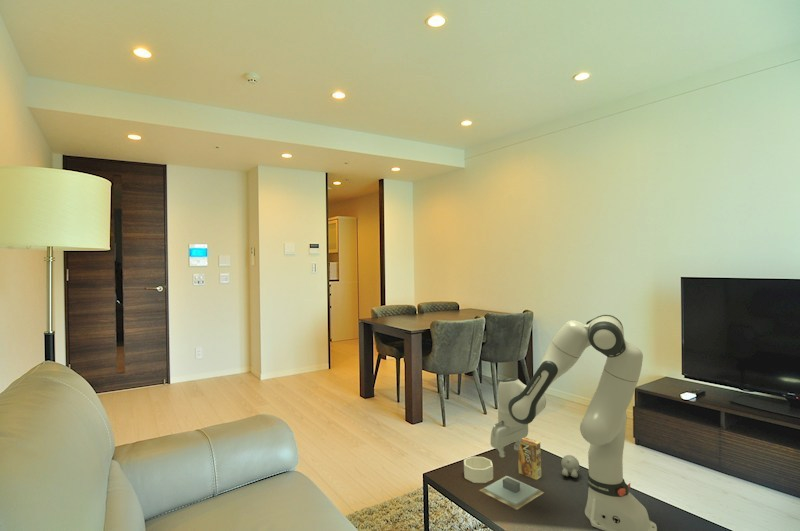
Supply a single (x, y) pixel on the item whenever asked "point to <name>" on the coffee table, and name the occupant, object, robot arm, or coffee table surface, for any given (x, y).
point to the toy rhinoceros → (570, 466)
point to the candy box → (529, 458)
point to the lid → (511, 490)
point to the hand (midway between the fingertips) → (509, 453)
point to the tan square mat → (511, 504)
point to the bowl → (478, 469)
